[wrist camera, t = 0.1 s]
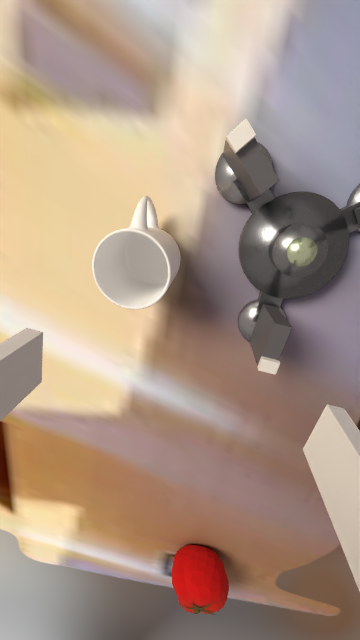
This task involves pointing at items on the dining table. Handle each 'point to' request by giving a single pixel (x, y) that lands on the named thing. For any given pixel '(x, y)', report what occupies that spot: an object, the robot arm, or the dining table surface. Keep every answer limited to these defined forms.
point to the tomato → (199, 579)
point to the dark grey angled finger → (269, 338)
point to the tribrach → (287, 242)
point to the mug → (136, 261)
